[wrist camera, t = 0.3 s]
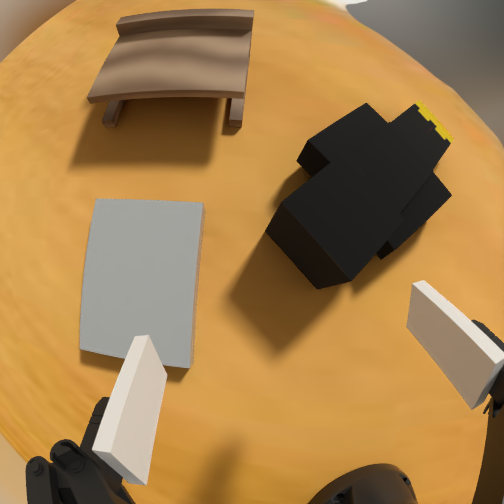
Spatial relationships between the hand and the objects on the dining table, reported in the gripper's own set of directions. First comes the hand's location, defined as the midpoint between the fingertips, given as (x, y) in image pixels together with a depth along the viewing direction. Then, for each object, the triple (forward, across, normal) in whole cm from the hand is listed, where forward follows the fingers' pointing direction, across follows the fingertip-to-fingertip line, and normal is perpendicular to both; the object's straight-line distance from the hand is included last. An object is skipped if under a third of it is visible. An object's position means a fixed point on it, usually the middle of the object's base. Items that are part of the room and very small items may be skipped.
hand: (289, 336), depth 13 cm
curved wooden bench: (+29, +6, -19) cm, 35 cm away
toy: (+22, -16, -2) cm, 27 cm away
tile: (+16, +13, +3) cm, 21 cm away
